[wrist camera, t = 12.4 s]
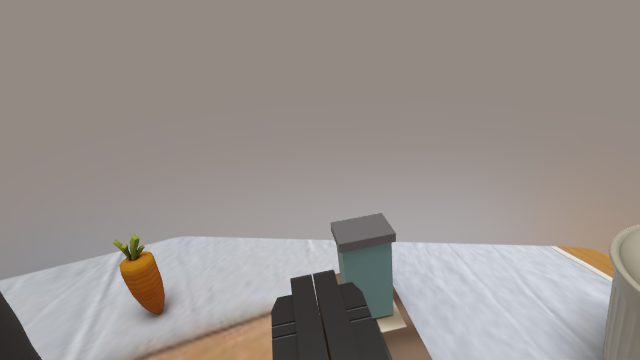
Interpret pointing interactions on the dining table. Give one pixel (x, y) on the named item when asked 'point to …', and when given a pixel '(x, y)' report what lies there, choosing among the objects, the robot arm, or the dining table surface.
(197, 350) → the dining table surface
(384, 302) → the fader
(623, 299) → the canister
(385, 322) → the grooved wooden base
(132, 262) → the carrot
